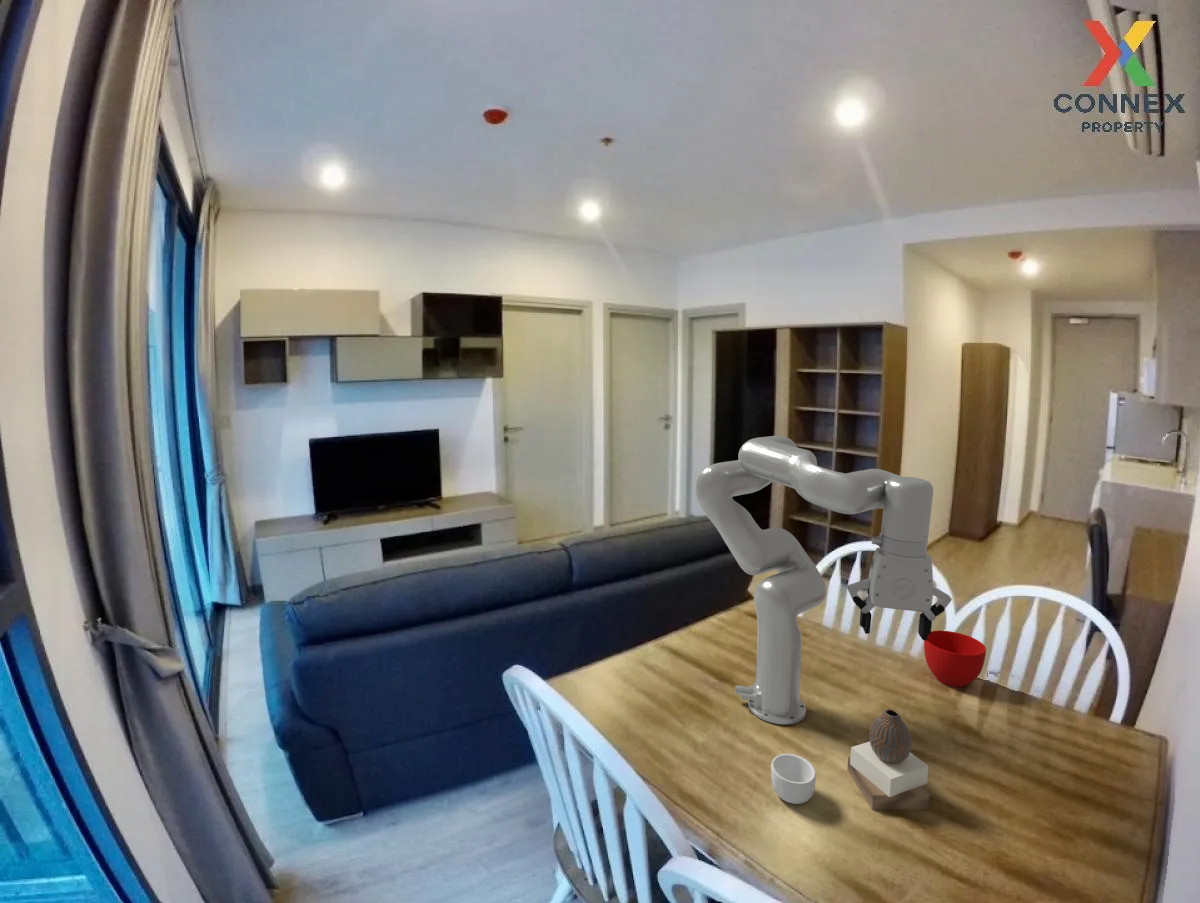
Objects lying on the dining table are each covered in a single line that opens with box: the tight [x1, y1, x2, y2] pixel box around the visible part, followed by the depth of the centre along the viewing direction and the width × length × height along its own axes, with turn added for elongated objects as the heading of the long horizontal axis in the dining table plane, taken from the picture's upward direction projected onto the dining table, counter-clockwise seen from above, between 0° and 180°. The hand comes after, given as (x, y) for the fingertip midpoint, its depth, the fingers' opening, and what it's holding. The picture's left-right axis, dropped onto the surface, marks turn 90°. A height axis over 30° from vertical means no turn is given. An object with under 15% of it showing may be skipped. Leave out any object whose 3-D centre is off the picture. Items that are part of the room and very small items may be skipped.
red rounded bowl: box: [923, 630, 987, 688], centre depth 143 cm, size 13×17×10 cm
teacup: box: [770, 753, 817, 805], centre depth 105 cm, size 10×8×5 cm
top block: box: [849, 741, 929, 797], centre depth 106 cm, size 9×9×4 cm
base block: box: [847, 756, 931, 811], centre depth 106 cm, size 10×10×4 cm
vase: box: [868, 708, 913, 764], centre depth 105 cm, size 7×7×9 cm
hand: (893, 633), depth 107 cm, fingers open, 9 cm apart
